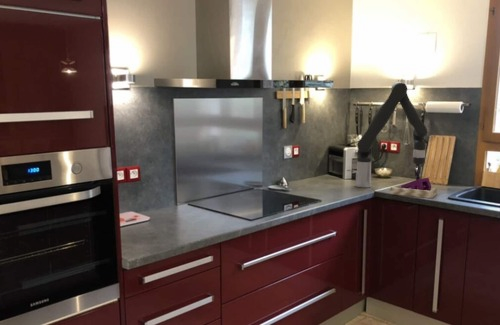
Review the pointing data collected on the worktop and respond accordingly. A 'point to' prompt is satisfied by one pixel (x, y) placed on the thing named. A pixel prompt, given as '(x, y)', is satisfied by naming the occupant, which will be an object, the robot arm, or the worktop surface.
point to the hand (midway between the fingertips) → (417, 182)
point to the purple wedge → (419, 184)
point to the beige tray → (414, 192)
